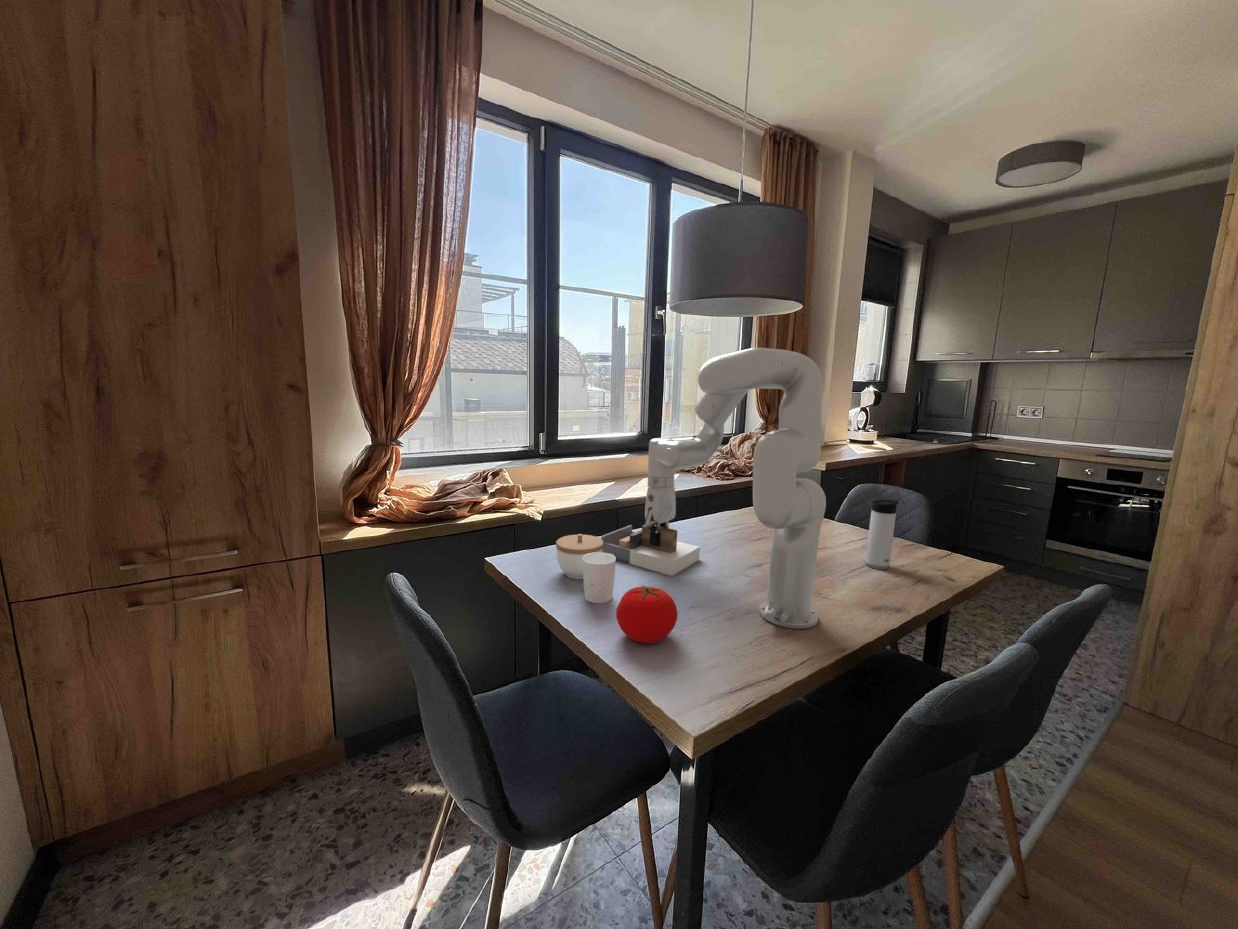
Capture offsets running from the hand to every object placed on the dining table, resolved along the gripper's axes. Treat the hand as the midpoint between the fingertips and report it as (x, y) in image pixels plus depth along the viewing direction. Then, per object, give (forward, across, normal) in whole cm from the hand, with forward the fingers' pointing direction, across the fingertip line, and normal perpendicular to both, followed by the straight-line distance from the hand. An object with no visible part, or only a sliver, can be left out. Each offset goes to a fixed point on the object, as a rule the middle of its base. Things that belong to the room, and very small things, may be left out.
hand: (658, 543), depth 140 cm
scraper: (+2, 0, 0) cm, 2 cm away
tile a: (+2, -3, +8) cm, 9 cm away
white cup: (+6, -30, -2) cm, 31 cm away
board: (+6, +1, -2) cm, 6 cm away
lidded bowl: (+6, -22, +11) cm, 25 cm away
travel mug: (+6, +39, -52) cm, 65 cm away
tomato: (+6, -38, -21) cm, 44 cm away
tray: (+5, 0, +10) cm, 12 cm away
